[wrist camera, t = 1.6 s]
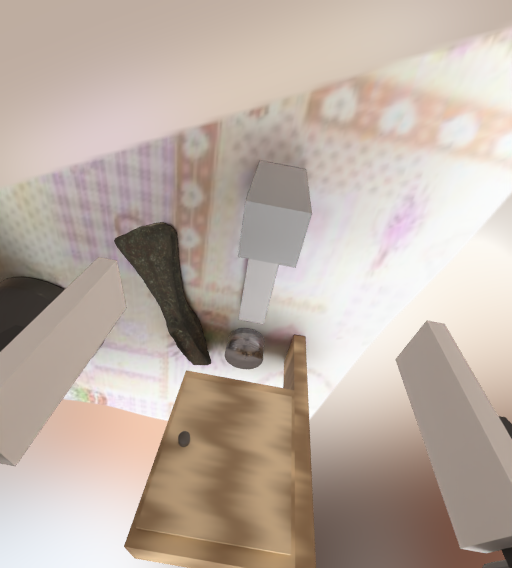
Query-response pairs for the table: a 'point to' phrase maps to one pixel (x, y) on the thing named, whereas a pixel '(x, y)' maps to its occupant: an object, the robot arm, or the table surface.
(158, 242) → the tool
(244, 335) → the grey short cylinder
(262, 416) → the wall cabinet
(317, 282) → the table surface
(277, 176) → the gray stepped block
